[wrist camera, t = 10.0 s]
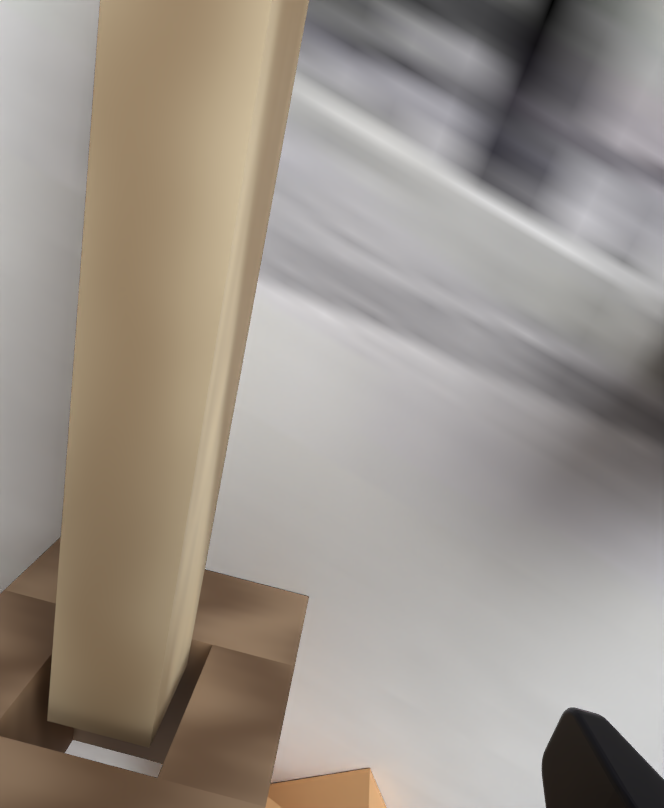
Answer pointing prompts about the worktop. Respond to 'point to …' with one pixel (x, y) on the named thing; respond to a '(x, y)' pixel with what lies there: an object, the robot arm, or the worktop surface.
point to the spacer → (329, 791)
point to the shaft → (161, 336)
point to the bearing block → (185, 716)
